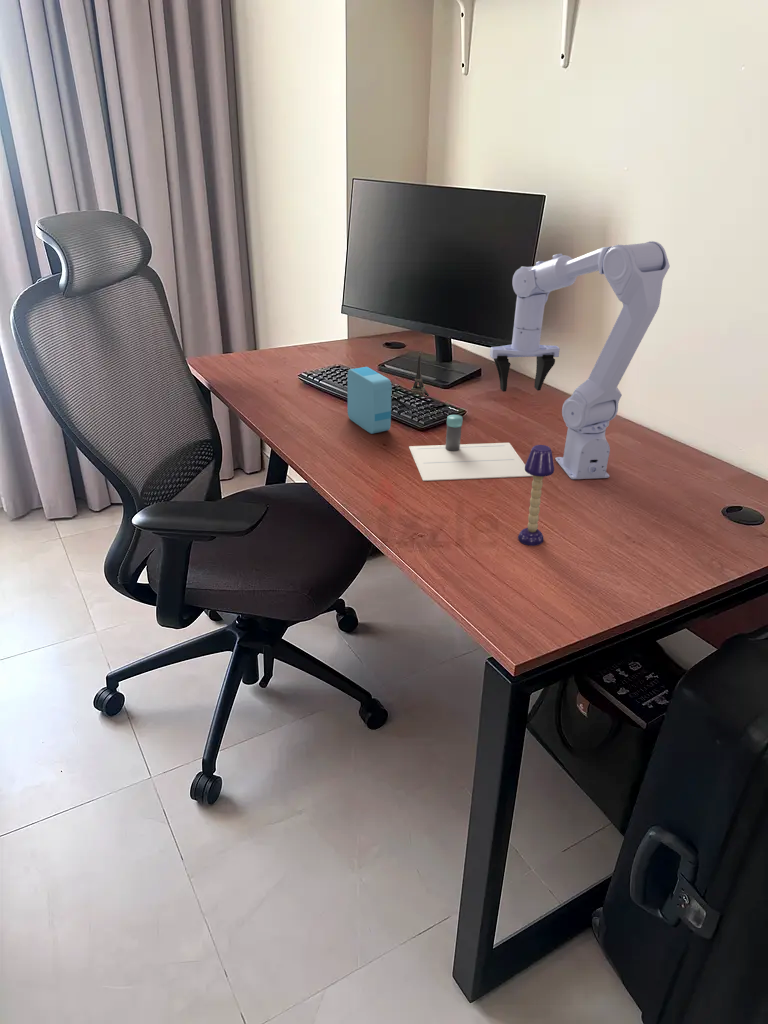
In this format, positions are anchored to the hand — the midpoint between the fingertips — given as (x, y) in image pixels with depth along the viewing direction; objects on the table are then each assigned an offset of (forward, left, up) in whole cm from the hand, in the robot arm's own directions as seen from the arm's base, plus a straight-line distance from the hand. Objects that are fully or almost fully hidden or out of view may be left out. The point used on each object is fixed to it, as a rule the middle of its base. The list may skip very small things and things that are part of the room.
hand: (520, 389), depth 158 cm
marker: (-7, +16, -10) cm, 20 cm away
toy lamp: (-44, +11, -11) cm, 47 cm away
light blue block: (+8, +32, -11) cm, 35 cm away
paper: (-13, +14, -10) cm, 22 cm away
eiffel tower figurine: (+24, +18, -11) cm, 32 cm away
